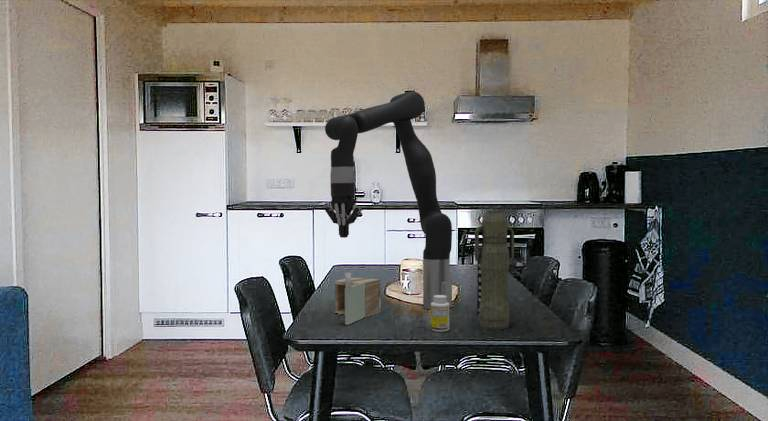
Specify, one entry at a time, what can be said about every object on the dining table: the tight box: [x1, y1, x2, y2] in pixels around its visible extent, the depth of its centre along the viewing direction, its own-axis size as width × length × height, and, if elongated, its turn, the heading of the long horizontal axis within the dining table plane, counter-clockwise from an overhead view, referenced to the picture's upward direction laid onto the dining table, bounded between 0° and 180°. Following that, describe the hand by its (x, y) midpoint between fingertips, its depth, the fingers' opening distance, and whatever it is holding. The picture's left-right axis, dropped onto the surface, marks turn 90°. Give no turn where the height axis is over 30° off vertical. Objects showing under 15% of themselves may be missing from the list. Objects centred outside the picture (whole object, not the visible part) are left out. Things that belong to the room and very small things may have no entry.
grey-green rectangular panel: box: [344, 272, 366, 326], centre depth 208 cm, size 12×2×16 cm, turn 156°
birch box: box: [333, 276, 382, 318], centre depth 221 cm, size 12×10×11 cm
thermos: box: [474, 210, 515, 330], centre depth 200 cm, size 9×12×35 cm
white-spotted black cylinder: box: [476, 253, 481, 318], centre depth 216 cm, size 8×8×20 cm
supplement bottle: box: [430, 295, 451, 333], centre depth 196 cm, size 6×6×10 cm
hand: (343, 237), depth 206 cm, fingers closed
